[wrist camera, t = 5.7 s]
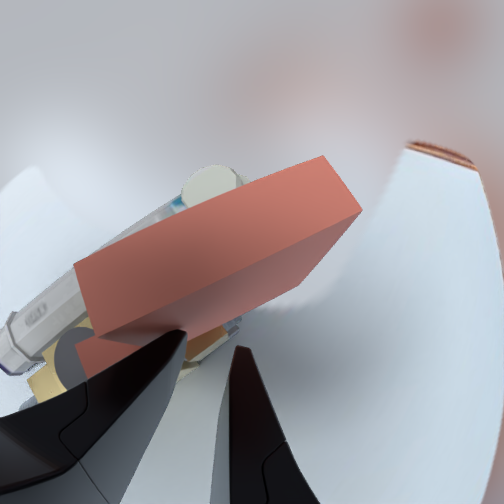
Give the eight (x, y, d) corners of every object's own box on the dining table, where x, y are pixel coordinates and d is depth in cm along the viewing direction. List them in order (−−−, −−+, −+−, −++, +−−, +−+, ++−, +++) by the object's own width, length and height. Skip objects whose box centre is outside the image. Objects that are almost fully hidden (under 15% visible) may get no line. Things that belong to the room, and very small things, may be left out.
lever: (80, 404, 10) (-30, 423, 3) (57, 343, 11) (-55, 315, 4) (305, 301, 12) (380, 236, 6) (271, 242, 13) (306, 135, 7)
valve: (85, 441, 17) (18, 471, 8) (54, 393, 18) (-21, 398, 9) (243, 333, 21) (253, 315, 12) (205, 284, 22) (190, 234, 13)
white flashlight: (-19, 326, 15) (225, 127, 18) (29, 332, 22) (235, 176, 25) (1, 385, 14) (274, 181, 17) (50, 380, 20) (272, 222, 24)
